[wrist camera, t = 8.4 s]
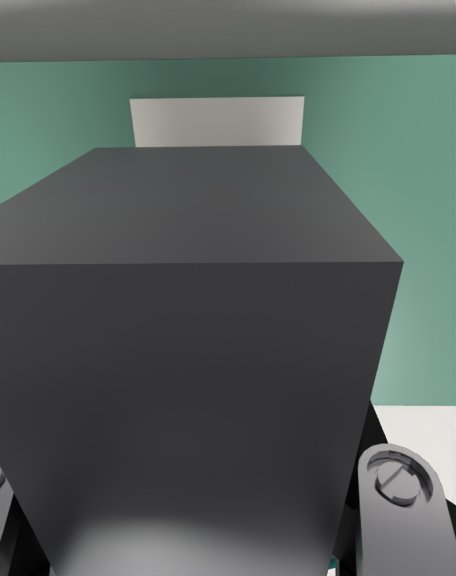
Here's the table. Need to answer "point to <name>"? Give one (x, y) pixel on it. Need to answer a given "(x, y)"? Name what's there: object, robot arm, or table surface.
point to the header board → (282, 131)
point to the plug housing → (188, 359)
